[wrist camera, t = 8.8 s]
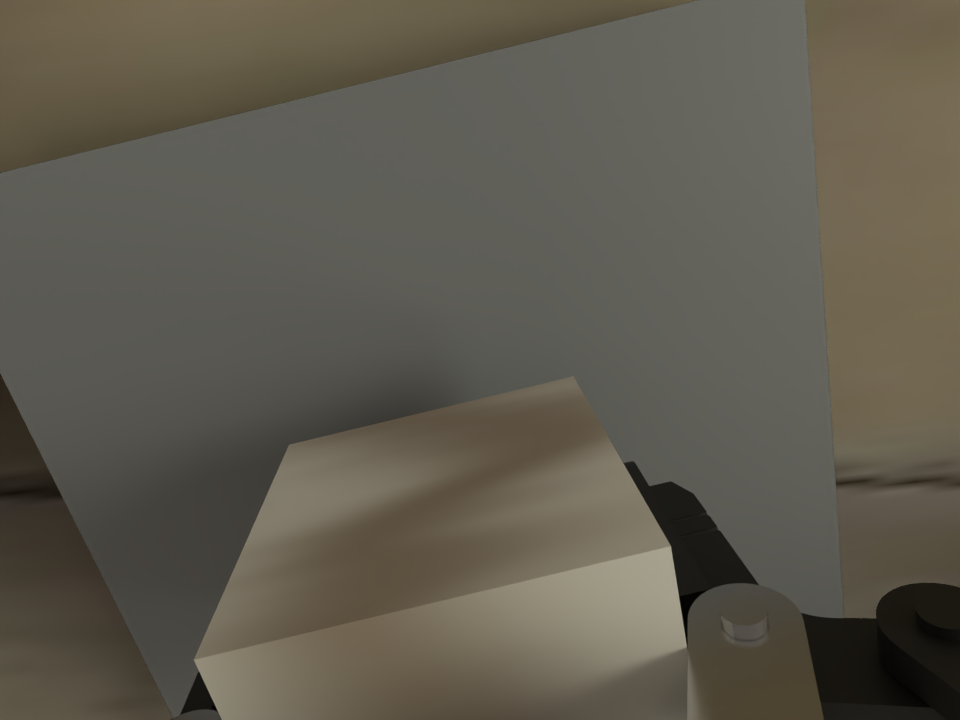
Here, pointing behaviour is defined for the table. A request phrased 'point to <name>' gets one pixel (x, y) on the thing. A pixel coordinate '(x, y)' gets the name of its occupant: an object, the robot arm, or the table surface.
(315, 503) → the cream cube
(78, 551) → the table surface
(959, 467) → the table surface
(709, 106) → the charcoal plinth
